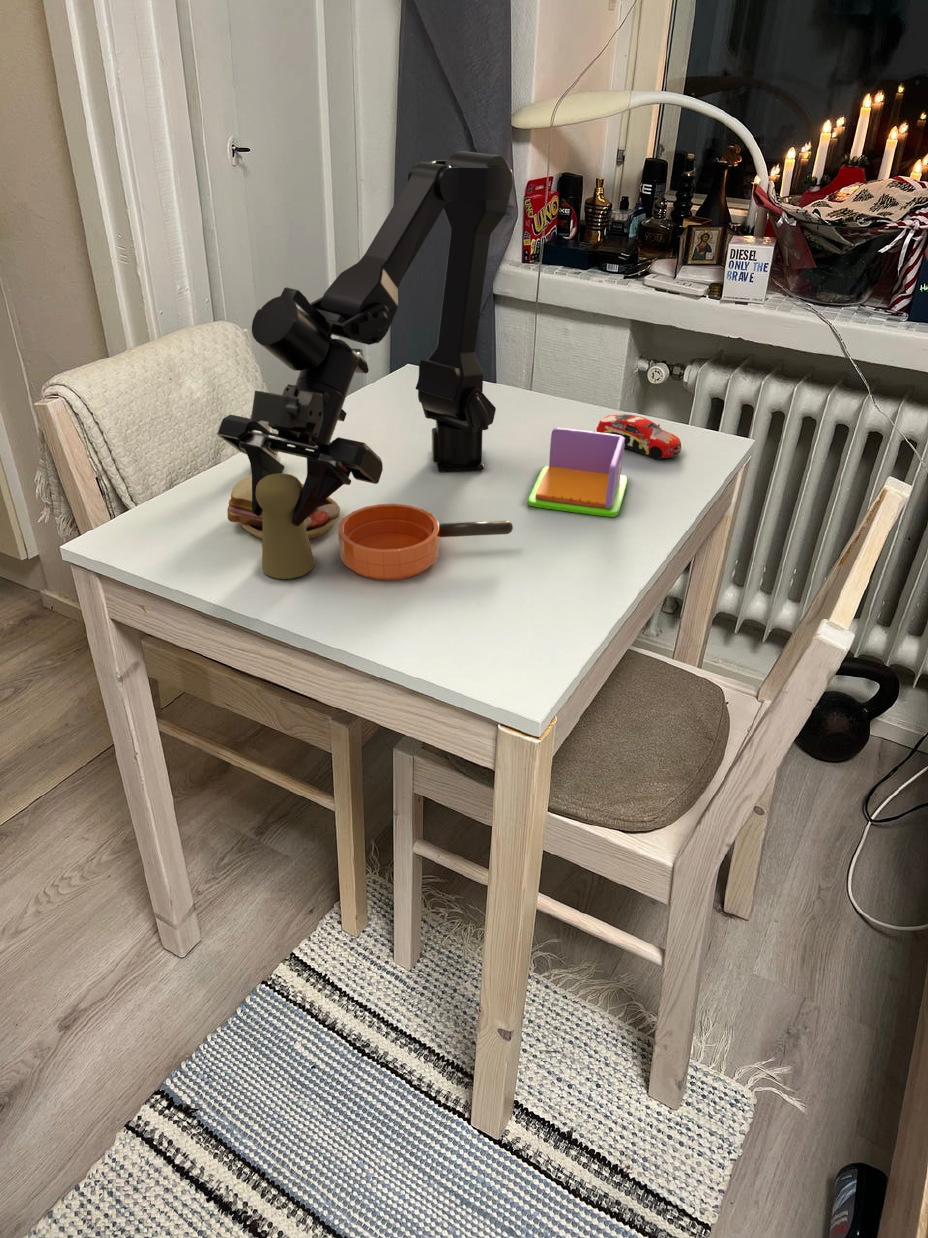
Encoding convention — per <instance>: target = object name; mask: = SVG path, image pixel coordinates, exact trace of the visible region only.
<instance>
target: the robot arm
mask: <svg viewBox="0 0 928 1238" xmlns="http://www.w3.org/2000/svg"><path fill="white" fill-rule="evenodd" d="M407 175H408V176H407V182H406V184H405V186H404V187H403V189H402V191H401V193H400V194H399V196H398V198H397V199H396V202H395V203H394V204H393V206H392V208H391V209H390V211H389V212H388V215H387V216H386V218H385V220H384V221H383V223H382V225H381V227H380V228H379V229H378V231H377V233H376V235H375V236H374V238H373V240H372V241H371V243H370V245H369V246H368V248H367V250H366V252H365V253H364V255H363V256H362V257H361V258H360V259H359V261H358V262H356V263H355V264H353V265H352V266H350V267H348V268H346V269H345V270H343V271H341V272H340V273H339V274H338V276H337V277H336V278H335V279H334V280H333V282H332V283H331V284H330V285H329V287H328V288H327V289H326V290H325V292H324V293H323V295H322V296H321V297H319V298H317V299H316V300H314V301H312V302H309V300H308V299H307V297H306V296H305V295H304V294H303V292H301V291H300V289H296V288H293V287H286V286H285V287H284V288H283V291H282V292H281V294H280V295H279V296H276V297H273V298H272V299H270V300H268V301H267V302H266V303H265V304H263V306H262V307H261V308H259V309H257V311H256V312H255V314H254V317H253V319H252V321H251V322H252V323H251V334H252V338H253V339H254V340H255V342H256V343H258V344H259V345H260V346H262V347H263V348H264V349H265V350H266V351H268V352H269V353H270V354H271V355H272V356H274V357H275V358H276V359H278V360H279V361H280V362H281V363H283V364H284V365H285V366H286V367H288V368H289V369H291V370H292V371H297V372H299V373H298V376H297V379H296V382H295V384H289V383H288V384H287V385H286V386H285V387H284V389H283V392H282V394H278V393H273V392H267V391H261V390H254V394H253V401H252V407H251V408H252V409H251V414H252V415H251V414H250V415H251V416H250V418H249V417H246V416H245V417H244V416H241V415H235V414H228V415H227V416H225V417H223V418H222V420H221V421H220V423H219V426H218V429H217V432H216V436H218V437H219V438H220V439H222V440H223V441H225V442H226V443H228V444H229V445H230V446H231V447H233V448H235V449H236V450H237V451H238V452H240V453H241V454H245V455H247V459H248V462H249V466H250V465H251V469H250V472H251V475H252V513H253V514H254V515H256V516H260V515H261V513H262V512H263V509H262V508H261V507H260V505H259V504H258V502H257V499H256V486H257V484H258V482H259V481H260V480H261V479H262V478H264V477H266V476H268V475H271V474H278V473H283V471H284V469H285V468H286V466H285V465H283V463H282V462H281V461H280V462H281V463H282V464H281V463H280V462H278V461H277V460H276V458H277V454H279V453H283V454H287V455H292V456H296V457H301V458H305V459H306V477H305V480H304V482H303V484H304V486H303V488H302V491H301V494H300V496H299V499H298V502H297V504H296V507H295V510H294V514H293V518H292V524H293V525H295V526H299V525H300V524H301V523H302V522H303V521H304V520H305V519H306V518H307V517H308V516H309V515H310V514H311V513H312V512H313V511H314V510H315V509H316V508H317V507H318V506H319V505H320V504H321V503H322V502H323V501H324V500H325V499H327V498H328V497H329V498H330V496H332V495H333V494H335V492H336V491H337V490H339V489H340V488H341V487H342V486H344V485H346V486H350V485H351V483H352V479H350V475H351V474H352V477H353V479H355V480H357V481H361V482H365V483H370V484H374V485H377V484H379V482H380V479H381V476H382V473H383V470H384V467H383V465H384V464H383V461H382V459H381V457H380V456H379V455H378V454H377V453H376V452H375V451H373V449H372V448H371V447H369V445H368V444H367V443H366V442H363V441H358V440H353V439H349V438H344V437H339V436H337V437H335V439H333V440H332V437H333V435H334V432H335V431H336V430H335V429H336V426H337V424H338V421H340V422H345V420H346V417H347V412H346V411H345V410H344V409H343V407H344V404H345V401H346V399H347V395H348V392H349V389H350V387H351V384H352V381H353V378H354V375H355V373H356V374H364V375H365V374H368V373H369V371H370V370H369V366H368V362H367V361H366V359H365V356H364V353H363V349H362V348H353V347H351V346H349V344H348V343H347V342H346V341H344V340H342V339H339V338H343V339H345V340H350V341H353V342H357V343H360V344H364V345H368V346H370V345H374V344H379V343H381V342H382V340H384V338H385V337H386V335H387V334H388V331H389V330H390V327H391V325H392V322H393V320H394V318H395V316H396V314H397V311H398V309H399V288H400V285H401V282H402V280H403V279H404V276H405V275H406V273H407V271H408V270H409V269H410V267H411V265H412V263H413V261H414V259H415V258H416V257H417V254H418V252H419V251H420V249H421V248H422V246H423V245H424V242H425V241H426V239H427V238H428V236H429V234H430V232H431V231H432V229H433V228H434V226H435V224H436V222H437V221H438V219H439V217H440V215H441V214H442V212H444V214H445V217H446V220H447V222H448V224H449V228H450V236H449V245H448V253H447V254H448V255H447V261H446V270H445V277H444V286H443V287H444V288H443V295H442V303H441V312H440V321H439V329H438V335H437V336H438V337H437V344H436V348H435V349H434V351H433V352H432V353H431V355H430V356H429V357H428V358H427V359H425V358H422V359H421V360H420V362H419V364H418V378H417V383H416V386H415V390H417V397H418V402H419V403H420V404H421V407H422V411H423V414H424V417H425V419H429V420H430V419H431V420H434V421H435V427H432V428H431V457H432V461H433V463H435V464H436V469H437V471H438V472H460V471H461V472H462V471H482V470H484V469H485V465H484V461H483V432H484V431H487V430H489V426H490V425H493V423H494V419H495V415H496V411H497V407H496V406H495V405H494V404H493V403H492V402H491V401H490V400H489V398H488V397H487V396H486V394H484V393H483V389H484V388H483V387H484V372H483V370H482V367H481V364H480V362H479V360H478V357H477V354H476V345H477V344H476V343H477V336H478V329H479V322H480V315H481V306H482V300H483V293H484V285H485V278H486V277H485V276H486V270H487V264H488V261H487V260H488V255H489V249H490V247H489V246H490V242H491V241H490V240H491V234H493V232H495V231H494V230H495V229H496V228H497V227H498V225H499V224H500V222H501V220H503V218H504V217H505V215H506V214H507V211H508V206H509V202H510V197H511V194H512V190H513V187H514V174H513V169H511V168H510V165H509V163H508V161H507V159H506V158H505V157H504V156H502V155H498V154H490V153H482V152H475V151H466V150H456V151H455V152H454V153H453V154H452V155H451V157H449V158H448V159H439V160H431V161H428V162H427V161H419V162H418V163H415V164H413V165H412V167H410V170H409V172H408V174H407ZM332 336H334V337H338V338H333V337H332ZM260 421H266V422H268V425H269V426H270V428H271V430H276V431H277V433H274V432H272V433H271V432H269V431H268V430H267V429H266V428H264V427H263V426H262V425H261V424H259V423H258V422H260Z"/></svg>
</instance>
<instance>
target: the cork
mask: <svg viewBox="0 0 928 1238" xmlns="http://www.w3.org/2000/svg"><path fill="white" fill-rule="evenodd" d="M302 484H303V483H302V482H301V481H300V479H299V478H297V477H296V476H294V475H293V474H289V473H285V472H284V473H283V472H282V473H278V474H271V475H268V476H266V477H264V478H262V479H261V480H260V481H259V482H258V484H257V486H256V499H257V502H258V504H259V505H260V507H261V508H262V509H263V529H262V539H261V540H262V541H261V542H262V543H261V545H262V547H261V570H262V571H263V573H264V574H265V575H267V576H268V577H271V578H274V579H280V580H287V579H294V578H295V579H296V578H300V577H302V576H305V575H306V574H309V572H311V571H312V570H313V568H314V567H315V559H314V558H315V557H314V554H313V550H312V546H311V542H310V539H309V538H308V534H307V531H306V527H305V523H304V521H303V522H302V523H301V524H300V525H299V526H295V525H293V524H292V518H293V514H294V510H295V507H296V504H297V502H298V499H299V496H300V494H301V491H302V488H303V486H302Z"/></svg>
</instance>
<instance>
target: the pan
mask: <svg viewBox="0 0 928 1238" xmlns="http://www.w3.org/2000/svg"><path fill="white" fill-rule="evenodd" d="M438 524H439V520H438V519H437V518H436V516H434V515H433V514H432V513H431V512H429V511H427V510H425V509H423V508H421V507H417V506H413V505H411V504H404V503H403V504H402V503H379V504H372V505H367V506H363V507H361V508H358V509H356V510H353V511H351V512H350V513H348V514H347V515H345V516H344V517H343V518H342V519H341V521H340V523H339V524H338V542H339V556H340V557H339V558H340V560H341V561H342V563H343V565H345V566H346V567H347V568H349V569H351V570H352V571H353V572H354V573H357V574H358V575H360V576H363V577H366V578H369V579H375V580H384V581H389V580H390V581H392V580H402V579H406V578H411V577H415V576H417V575H419V574H422V573H423V572H425V571H426V570H427V569H429V568H430V567H431V566H432V565H434V563H435V562H436V561H437V559H438V557H439V555H440V537H439V525H438ZM433 527H434V530H433V532H432V528H433Z"/></svg>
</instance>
